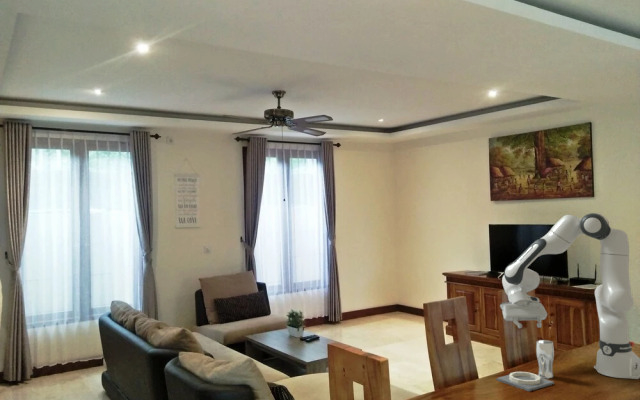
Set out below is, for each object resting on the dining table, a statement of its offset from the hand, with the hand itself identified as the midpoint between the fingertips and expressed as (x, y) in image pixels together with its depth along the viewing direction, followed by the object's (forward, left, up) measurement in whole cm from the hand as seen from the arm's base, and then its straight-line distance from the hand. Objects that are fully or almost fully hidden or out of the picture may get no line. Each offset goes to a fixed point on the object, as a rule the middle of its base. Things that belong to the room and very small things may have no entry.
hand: (530, 327), depth 229 cm
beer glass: (+5, +11, -19) cm, 23 cm away
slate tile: (+19, +11, -19) cm, 29 cm away
